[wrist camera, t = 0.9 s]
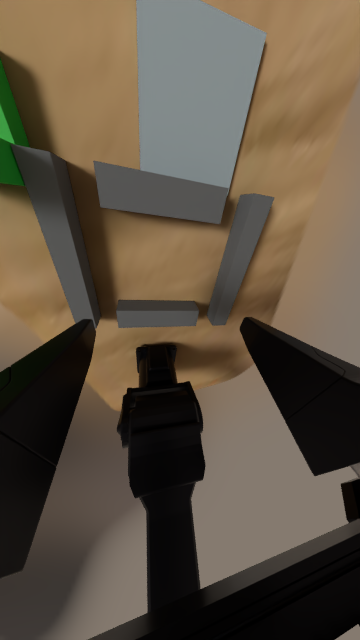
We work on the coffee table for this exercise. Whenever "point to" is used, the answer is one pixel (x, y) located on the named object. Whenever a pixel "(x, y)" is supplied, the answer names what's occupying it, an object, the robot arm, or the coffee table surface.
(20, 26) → the coffee table surface
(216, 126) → the felt pad
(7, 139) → the mechanical part
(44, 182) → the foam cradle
